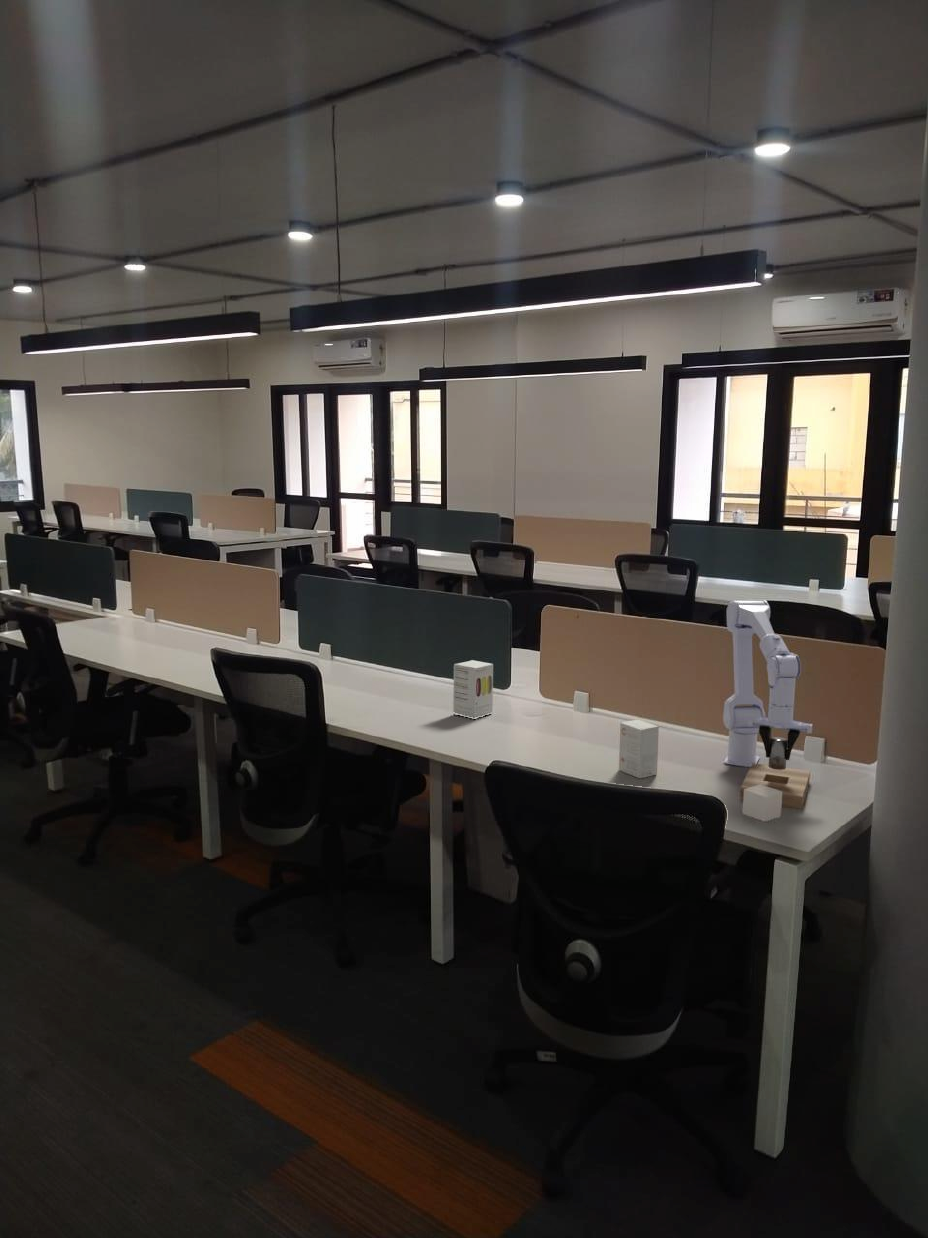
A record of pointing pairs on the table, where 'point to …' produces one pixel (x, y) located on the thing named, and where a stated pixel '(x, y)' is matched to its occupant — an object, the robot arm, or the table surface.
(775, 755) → the steel pin
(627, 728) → the small box
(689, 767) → the table surface
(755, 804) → the white cube
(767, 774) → the wooden socket block
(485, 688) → the supplement box
